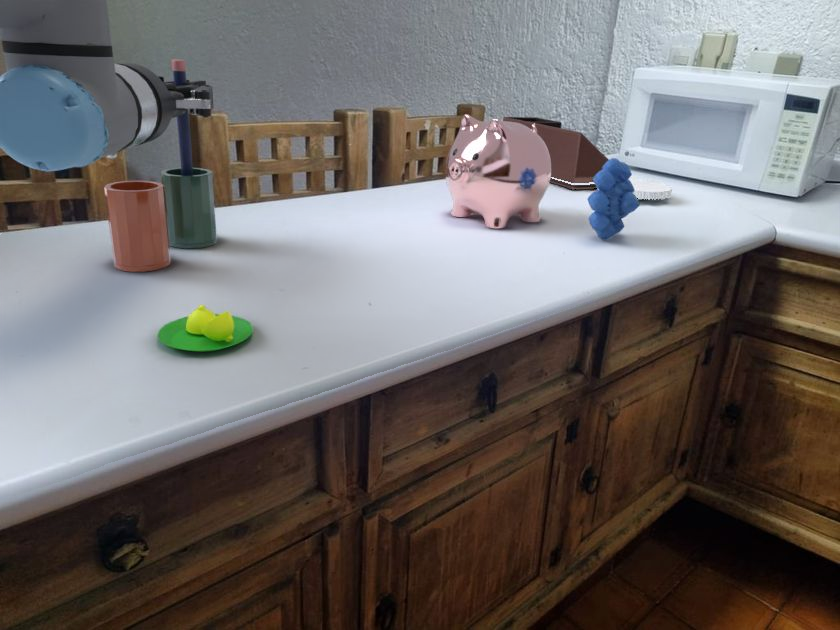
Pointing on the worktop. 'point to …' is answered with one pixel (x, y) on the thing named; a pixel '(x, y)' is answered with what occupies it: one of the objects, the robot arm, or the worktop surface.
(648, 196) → the plastic lid
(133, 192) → the terracotta cup
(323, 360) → the worktop surface
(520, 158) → the piggy bank
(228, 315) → the lemons on green plate
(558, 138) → the desk organizer
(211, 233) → the green cup
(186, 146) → the pencil
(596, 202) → the blue lumpy block
